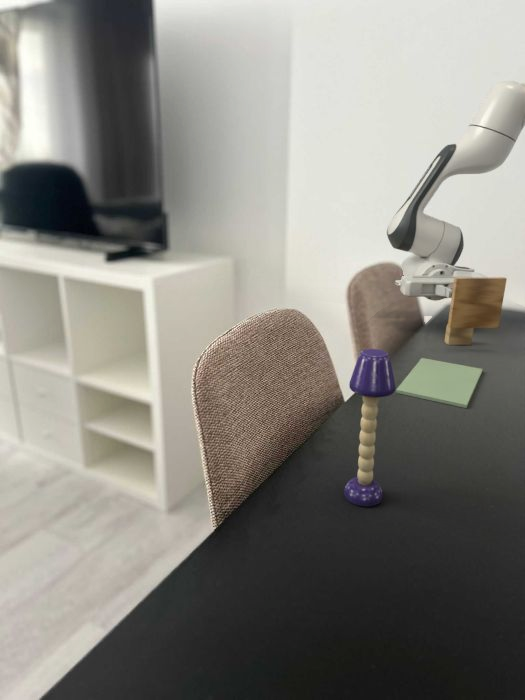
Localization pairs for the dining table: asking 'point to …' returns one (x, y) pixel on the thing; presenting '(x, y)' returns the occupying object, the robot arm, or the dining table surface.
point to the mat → (441, 382)
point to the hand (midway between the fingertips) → (460, 294)
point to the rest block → (458, 336)
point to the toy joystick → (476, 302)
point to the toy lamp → (369, 421)
